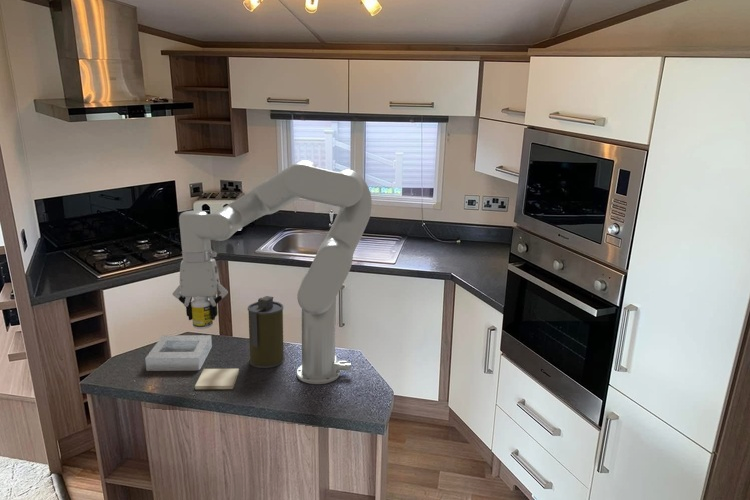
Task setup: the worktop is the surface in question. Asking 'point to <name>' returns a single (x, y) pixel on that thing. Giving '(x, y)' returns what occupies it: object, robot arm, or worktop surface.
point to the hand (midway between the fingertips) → (202, 317)
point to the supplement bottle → (201, 312)
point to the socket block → (179, 353)
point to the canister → (266, 333)
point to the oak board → (217, 379)
